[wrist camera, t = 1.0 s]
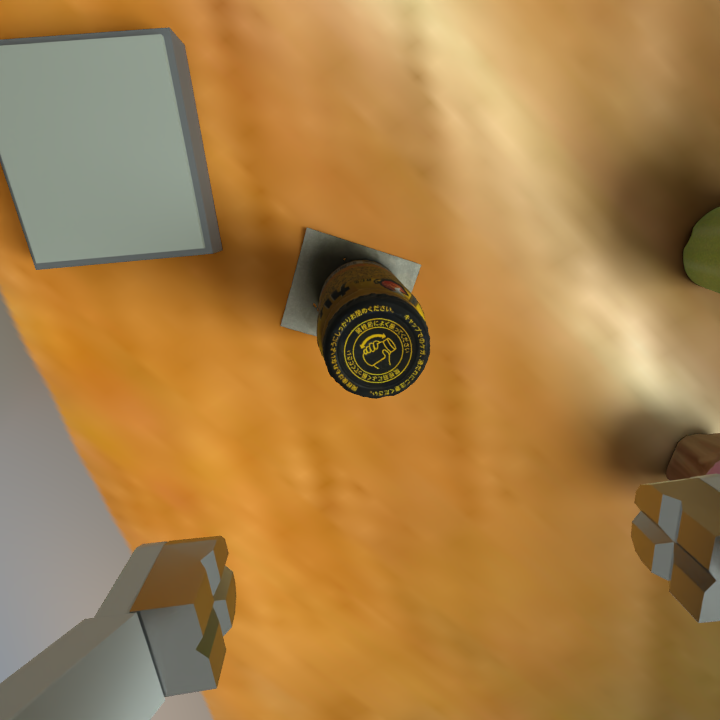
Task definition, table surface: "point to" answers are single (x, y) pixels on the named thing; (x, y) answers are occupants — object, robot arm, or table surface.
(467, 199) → the table surface
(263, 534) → the table surface
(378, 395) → the condiment
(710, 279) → the plant pot
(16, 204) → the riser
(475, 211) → the table surface
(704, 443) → the cupcake
